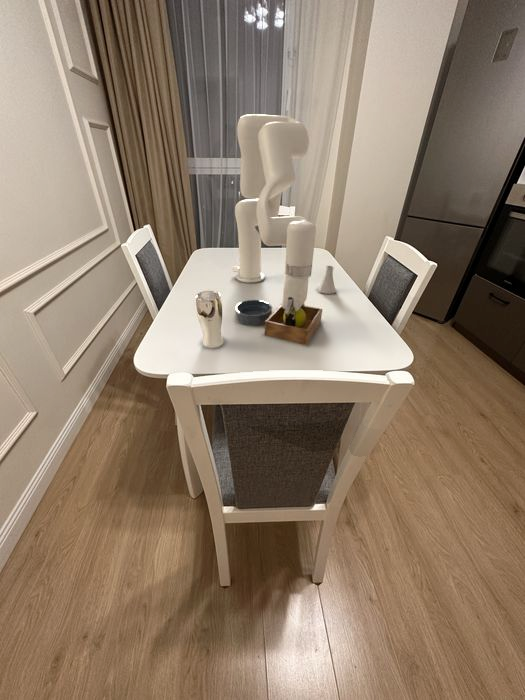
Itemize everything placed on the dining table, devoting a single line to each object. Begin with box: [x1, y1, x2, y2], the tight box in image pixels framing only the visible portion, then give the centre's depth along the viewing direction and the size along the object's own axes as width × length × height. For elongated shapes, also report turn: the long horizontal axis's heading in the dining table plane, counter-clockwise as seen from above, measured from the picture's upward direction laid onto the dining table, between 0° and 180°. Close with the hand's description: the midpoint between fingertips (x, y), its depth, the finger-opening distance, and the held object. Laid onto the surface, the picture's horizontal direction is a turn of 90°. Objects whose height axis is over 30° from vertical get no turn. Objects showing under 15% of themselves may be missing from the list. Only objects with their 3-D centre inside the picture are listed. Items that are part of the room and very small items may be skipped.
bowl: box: [234, 299, 273, 327], centre depth 96 cm, size 12×12×4 cm
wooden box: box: [264, 303, 323, 346], centre depth 90 cm, size 14×16×5 cm
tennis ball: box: [283, 307, 306, 328], centre depth 89 cm, size 7×7×7 cm
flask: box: [317, 265, 336, 295], centre depth 115 cm, size 7×7×10 cm
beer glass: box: [195, 290, 224, 349], centre depth 80 cm, size 7×7×15 cm
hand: (294, 323), depth 91 cm, fingers closed on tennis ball, 7 cm apart
